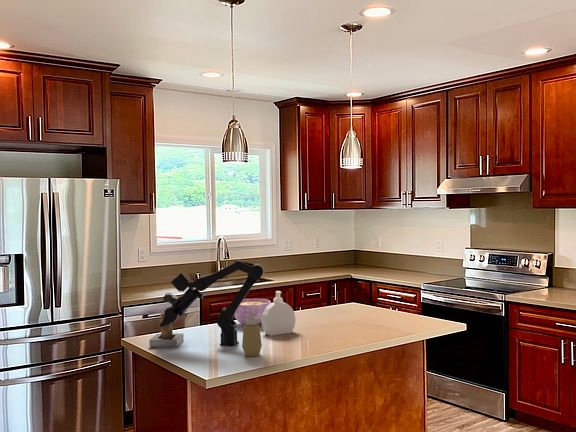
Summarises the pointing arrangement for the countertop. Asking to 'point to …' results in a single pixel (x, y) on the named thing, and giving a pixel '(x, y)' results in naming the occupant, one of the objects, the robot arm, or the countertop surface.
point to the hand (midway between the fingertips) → (163, 324)
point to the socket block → (166, 341)
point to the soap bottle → (278, 317)
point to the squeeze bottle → (251, 337)
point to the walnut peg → (166, 329)
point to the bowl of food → (251, 309)
